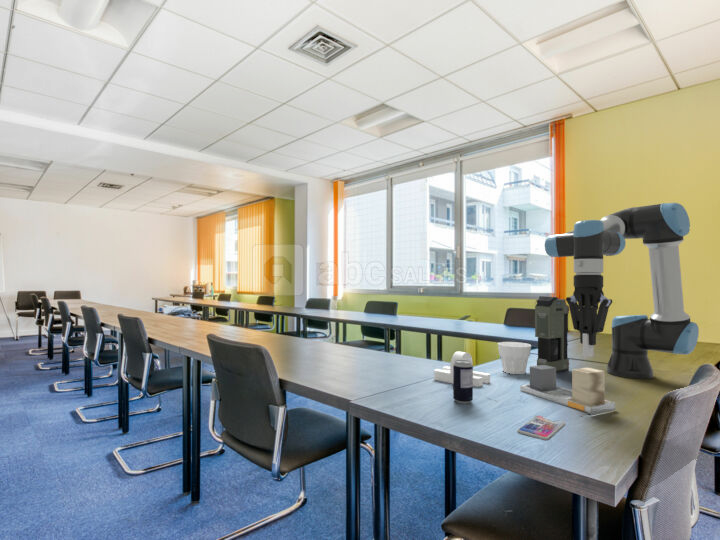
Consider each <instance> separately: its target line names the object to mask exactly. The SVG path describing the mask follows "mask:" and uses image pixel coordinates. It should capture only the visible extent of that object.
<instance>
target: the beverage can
mask: <svg viewBox="0 0 720 540" xmlns="http://www.w3.org/2000/svg"><path fill="white" fill-rule="evenodd" d="M471 363H472V364H473V361H472V362H471V361H467V360H456V361H455V363H454V365H453V383H452V385H453V387H452V388H453V389H452V390H453V392H452V394H453V395H452V396H453V397H452V398H453V399H454V401H455V402H456V403H458V404H462V403H463V404H462V405H464V404H465V405H467V403H468V404H470V403H471V402H472V401H474V399H473V398H474V389H473V388H474V386H473V371H474V366H472V364H471Z"/></svg>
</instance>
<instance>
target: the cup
mask: <svg viewBox="0 0 720 540" xmlns="http://www.w3.org/2000/svg"><path fill="white" fill-rule="evenodd" d="M497 348H498V354H499V356H500V359H501V366H502V372H503V371H504V372H503V373H505V372H506V373H505V374H508V373H510V374H509V375H515V374H522V375H525V374H526V373H527V367H528V362H529V357H530V356H531V351H532V350H531V349H532V345H531V344H530V343H525V342H520V341H519V342H518V341H502V342H501V341H500V342H498V343H497Z"/></svg>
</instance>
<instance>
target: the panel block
mask: <svg viewBox="0 0 720 540" xmlns="http://www.w3.org/2000/svg"><path fill="white" fill-rule="evenodd" d="M605 373H606V371H605V370H601V369H597V368H592V367H581V368H574V369H572V370H571V379H572V380H571V381H572V382H571V384H572V385H571V390H572V401H574V402H577V403H581V404H584V405H587V406H593V405H598V404H603V403H605V400H606V399H605V397H606V396H605V388H606V384H605V382H606V381H605V380H606V376H605Z"/></svg>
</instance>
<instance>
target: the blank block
mask: <svg viewBox="0 0 720 540" xmlns="http://www.w3.org/2000/svg"><path fill="white" fill-rule="evenodd" d="M529 384H530V388H532V389H536V390H539V391H548V390H555V389H556V386H557V374H556V368H555V367H551V366H547V365H539V366H537V365H533V366H529Z"/></svg>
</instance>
